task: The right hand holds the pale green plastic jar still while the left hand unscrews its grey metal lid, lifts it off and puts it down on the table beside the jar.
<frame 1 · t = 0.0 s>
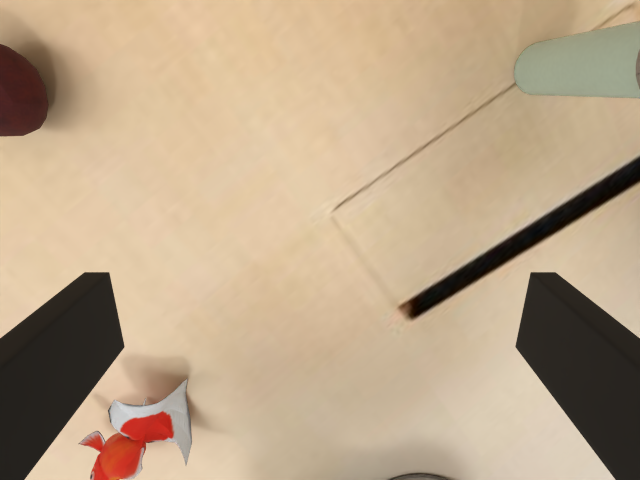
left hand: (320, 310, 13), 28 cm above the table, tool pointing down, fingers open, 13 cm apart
jar: (538, 68, 36), on the table
fish: (153, 405, 50), on the table
dark red round piece: (25, 91, 37), on the table
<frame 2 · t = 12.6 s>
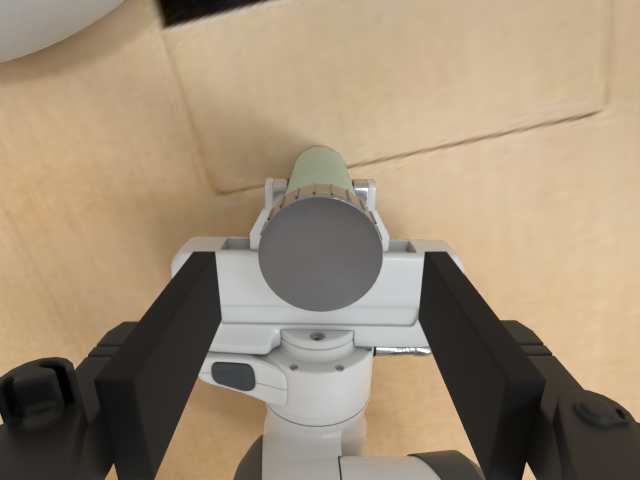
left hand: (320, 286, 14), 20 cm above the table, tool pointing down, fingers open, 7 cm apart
right hand: (319, 180, 27), fingers closed on jar, 4 cm apart
jar: (320, 172, 33), on the table, touching right hand
lid: (320, 254, 17), point 17 cm above the table, screwed on, not yet turned
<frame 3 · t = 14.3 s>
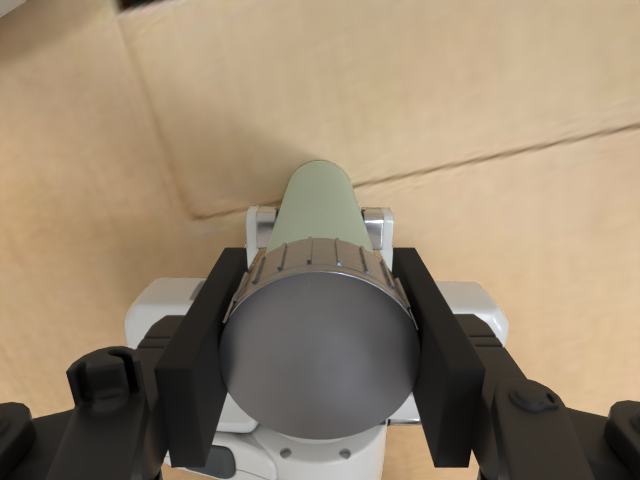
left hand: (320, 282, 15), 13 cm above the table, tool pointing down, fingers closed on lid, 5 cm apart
jar: (319, 193, 27), on the table, touching right hand
lid: (319, 354, 11), point 17 cm above the table, screwed on, not yet turned, touching left hand
when the left hand's fingers open (13 cm above the table, at t = 15.4 s): lid stays where it is, point 18 cm above the table.
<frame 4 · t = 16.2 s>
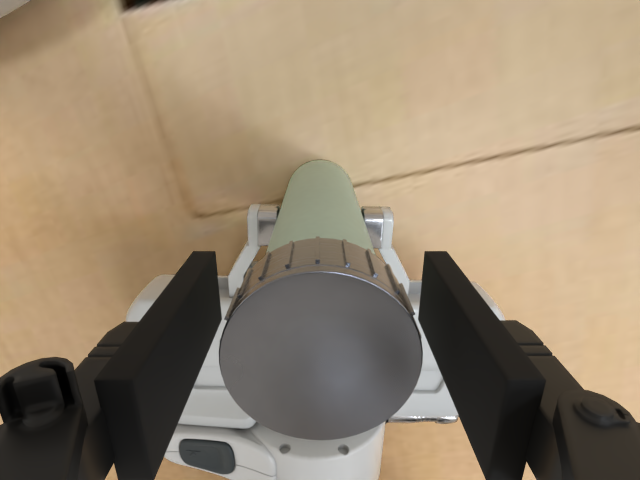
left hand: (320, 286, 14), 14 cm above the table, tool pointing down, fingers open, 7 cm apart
jar: (320, 192, 27), on the table, touching right hand
lid: (320, 355, 11), point 18 cm above the table, turned 78° so far, risen 0.3 cm, still on its thread
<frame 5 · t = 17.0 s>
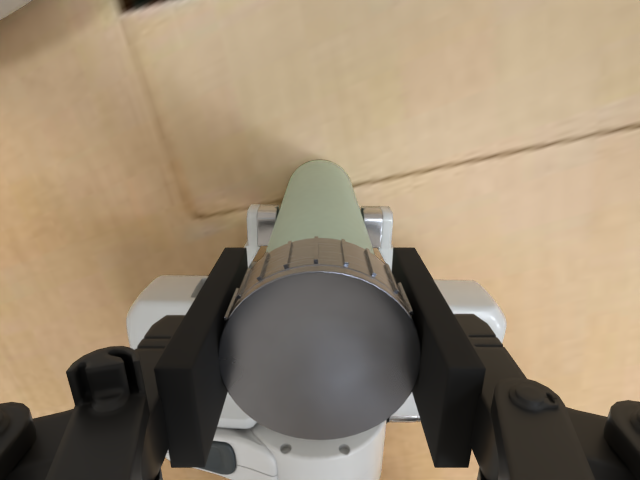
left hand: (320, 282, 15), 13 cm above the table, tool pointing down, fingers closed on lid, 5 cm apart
jar: (319, 192, 27), on the table, touching right hand
lid: (319, 355, 11), point 18 cm above the table, turned 78° so far, risen 0.3 cm, still on its thread, touching left hand
when the left hand's fingers open (0 cm above the table, at t = 23.8 s): lid drops 3 cm, point 2 cm above the table.
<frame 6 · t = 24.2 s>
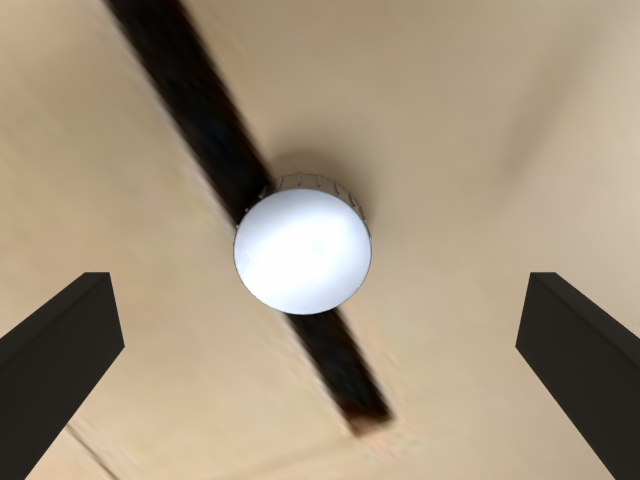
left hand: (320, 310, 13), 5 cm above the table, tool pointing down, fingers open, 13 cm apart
lid: (302, 251, 15), point 2 cm above the table, off its thread
when the right hand's fingers open (7 cm above the table, at t = 24.5 s): jar stays where it is, on the table.
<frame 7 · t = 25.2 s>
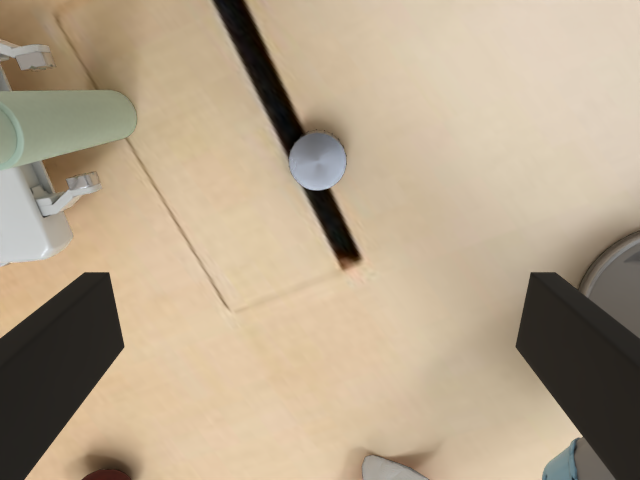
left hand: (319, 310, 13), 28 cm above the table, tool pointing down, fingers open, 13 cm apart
jar: (113, 115, 37), on the table
lid: (317, 161, 37), point 2 cm above the table, off its thread
dark red round piece: (115, 474, 53), on the table
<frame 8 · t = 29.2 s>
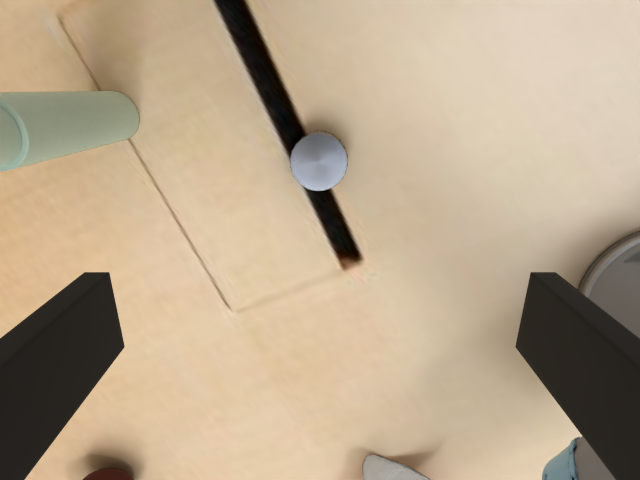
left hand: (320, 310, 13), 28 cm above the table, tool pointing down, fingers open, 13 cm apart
jar: (115, 116, 37), on the table
lid: (318, 162, 37), point 2 cm above the table, off its thread
dark red round piece: (117, 474, 54), on the table
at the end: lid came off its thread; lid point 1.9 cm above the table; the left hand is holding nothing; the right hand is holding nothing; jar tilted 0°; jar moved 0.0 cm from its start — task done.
